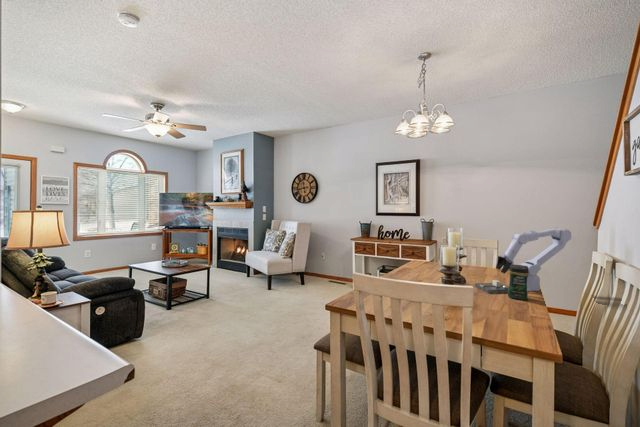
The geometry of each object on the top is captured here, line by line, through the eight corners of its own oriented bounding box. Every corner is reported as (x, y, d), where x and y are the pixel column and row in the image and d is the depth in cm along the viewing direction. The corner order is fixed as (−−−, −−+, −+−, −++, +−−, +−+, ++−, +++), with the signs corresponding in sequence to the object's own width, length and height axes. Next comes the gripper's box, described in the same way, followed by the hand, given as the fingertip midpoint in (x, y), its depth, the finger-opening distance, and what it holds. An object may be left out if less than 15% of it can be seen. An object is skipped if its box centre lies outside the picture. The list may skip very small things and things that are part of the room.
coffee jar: (507, 298, 187) (508, 265, 186) (507, 294, 194) (509, 262, 193) (527, 301, 182) (529, 267, 181) (527, 297, 189) (529, 264, 188)
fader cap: (496, 284, 205) (496, 279, 205) (500, 286, 201) (500, 281, 201) (492, 284, 205) (492, 279, 205) (496, 286, 201) (496, 281, 201)
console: (499, 285, 211) (499, 280, 211) (513, 292, 197) (514, 287, 197) (474, 286, 210) (475, 281, 209) (488, 293, 196) (488, 287, 195)
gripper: (510, 252, 210) (498, 271, 210) (501, 244, 201) (489, 264, 202) (521, 257, 204) (509, 276, 204) (512, 249, 195) (499, 269, 196)
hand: (500, 270), depth 203 cm, fingers open, 7 cm apart
